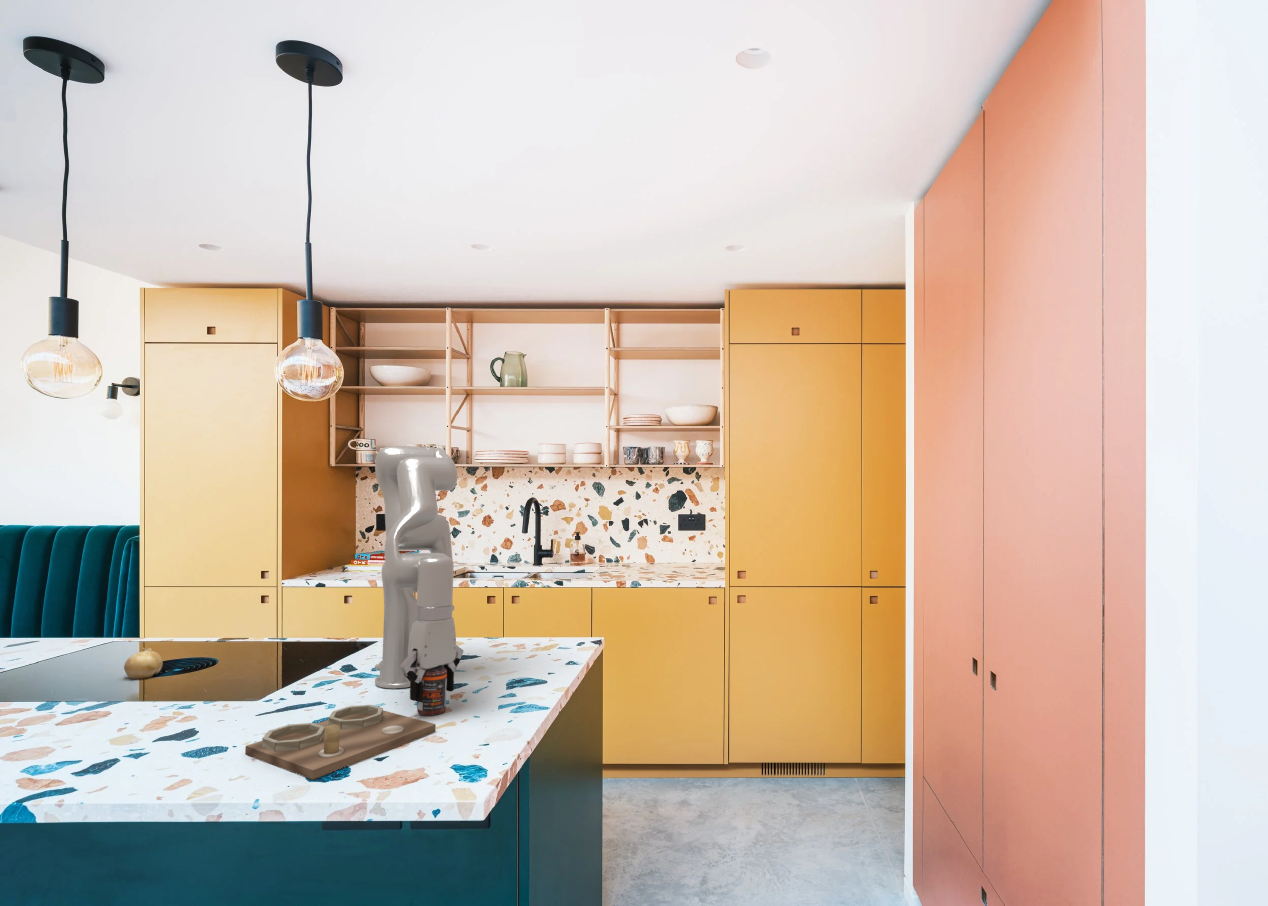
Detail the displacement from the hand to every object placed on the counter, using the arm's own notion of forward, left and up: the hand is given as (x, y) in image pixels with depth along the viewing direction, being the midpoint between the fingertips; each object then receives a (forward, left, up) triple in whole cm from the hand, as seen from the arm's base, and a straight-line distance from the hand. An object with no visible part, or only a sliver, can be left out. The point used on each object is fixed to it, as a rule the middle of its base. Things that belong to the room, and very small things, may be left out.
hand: (432, 695), depth 141 cm
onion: (-83, -20, -4) cm, 86 cm away
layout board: (0, -21, -4) cm, 21 cm away
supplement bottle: (0, 0, -4) cm, 4 cm away
